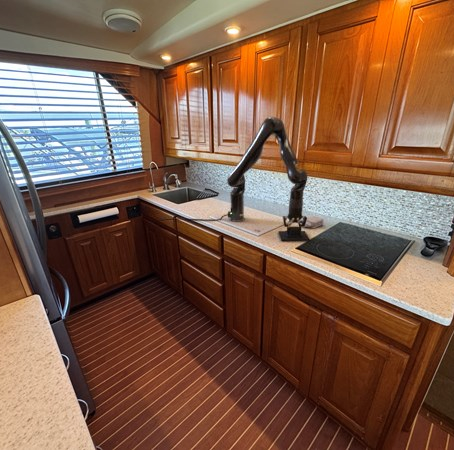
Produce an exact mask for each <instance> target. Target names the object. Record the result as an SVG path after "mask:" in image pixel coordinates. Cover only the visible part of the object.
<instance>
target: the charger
mask: <svg viewBox="0 0 454 450" xmlns="http://www.w3.org/2000/svg"><path fill="white" fill-rule="evenodd" d="M306 217H307V221H306V224H305V226H304V227H305V228H308V227H309V228H311V229H316V228H318V227H321V226H323V225H324V218H323V217H319V216H316V215H310V216H306Z"/></svg>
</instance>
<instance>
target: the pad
mask: <svg viewBox="0 0 454 450" xmlns="http://www.w3.org/2000/svg"><path fill="white" fill-rule="evenodd" d="M298 226H299V225H297V226H296V225H295V226H291V225H290V231H289V235H290V236H299V233H300V230H299V228H298Z"/></svg>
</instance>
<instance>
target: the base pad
mask: <svg viewBox="0 0 454 450" xmlns="http://www.w3.org/2000/svg"><path fill="white" fill-rule="evenodd" d="M278 236H279V238H280V241H281V242H310V241H311V239H310V237H309V235H308V234H307V232H306V231H305V230H301V232H300V233H299V236H290V235H289V233H287V230H278Z"/></svg>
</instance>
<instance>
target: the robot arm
mask: <svg viewBox="0 0 454 450" xmlns="http://www.w3.org/2000/svg"><path fill="white" fill-rule="evenodd" d="M271 136H274V138H275V139H276V140H277V142H278V145H279V153H280V154H279V155H280V157H281V161H282V162H283V164H284V167H285V170H286V174H287V179H288V180H289V182H290V183H291V184H293V187H291V188H290V192H289V200H288V213H287V215H283V216H282V221H283V226H284V227H285V228H286V231H287V233H289V231H290V226H291V225H292V224H295V223H296V224H297V226H298V228H299V230H300V232H301V231H302V228H304V227H305V224H306V221H307V217H308V216H306V215H303V208H304V207H303V206H304V190H305V188H306V185H307V182H308V172H307V171H306V170H305V169H303V168H301V169H297V166H298V165H299V160H298V158H297V156H296V154H295V152H294V150H293V147H292V145H291V143H290V139H289V137H288V134H287V129H286V127H285V124H284V121H283V120H282V119H281V118H279V117H274V116H267V117H266V118H265V119H264V120H263V122H262V123H261V125H260V127H259V129H258V131H257V133H256V134H255V136H254V138H253V140H252V141H251V143H250V145H249V146H248V147H247V149H246V151H245V152H244V153H243V155H242V156H241V158H240V160H239V161H238V163H237V165H236V166H235V167H234V169H232V170H231V172H230V173H229V174H228V176H227V179H226V181H227V185H228V186H229V187H230V188H233V189H232V190H231V191H230V193H229V197H230V211H229V210H228V211H227V213H226V214H224V215H222V216H221V217H220V218H217V219H213V218H212V219H209V218H208V219H207V218H206V219H203V218H185V217H184V218H183V217H182V218H178V217H177V218H175V217H174V218H160V219H158V221H160V222H161V221H172V220H176V221H177V220H185V221H186V220H187V221H188V220H189V221H206V222H207V221H210V222H211V221H213V222H215V221H221V220H222V219H223V218H224V217H227V219H230V221H231V222H243V221H244V220H245V204H244V203H245V201H244V200H245V192H246V176H245V174H246V173H247V172H248V171H249V170H251V169H252V168H253V167H254V166H255V165H256V164H257V163H258V161H259V160H260V159H261V157H262V155H263V152H264V151H263V150H264V146H265V144H266V142H267V141H268V140H269V138H270V137H271ZM287 220H288V221H287ZM301 220H302V223H301Z"/></svg>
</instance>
